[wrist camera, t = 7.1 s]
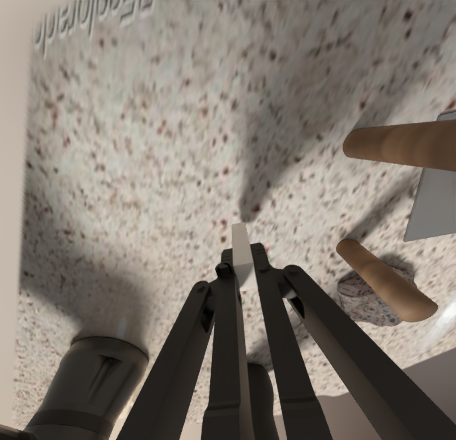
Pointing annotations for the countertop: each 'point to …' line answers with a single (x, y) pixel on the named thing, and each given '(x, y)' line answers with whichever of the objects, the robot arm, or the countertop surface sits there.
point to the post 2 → (387, 283)
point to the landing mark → (434, 202)
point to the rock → (369, 301)
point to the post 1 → (406, 144)
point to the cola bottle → (261, 403)
